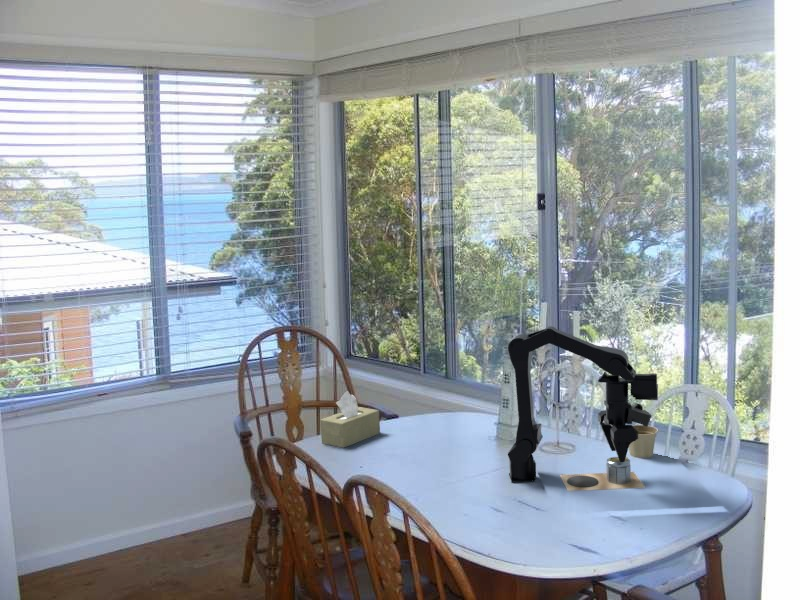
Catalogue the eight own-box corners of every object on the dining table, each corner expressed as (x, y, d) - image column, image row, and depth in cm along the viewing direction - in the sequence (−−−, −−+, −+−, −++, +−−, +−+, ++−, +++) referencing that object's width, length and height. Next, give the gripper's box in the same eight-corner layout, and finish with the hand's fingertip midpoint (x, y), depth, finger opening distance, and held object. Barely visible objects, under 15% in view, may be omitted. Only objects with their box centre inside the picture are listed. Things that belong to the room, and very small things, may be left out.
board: (568, 495, 215) (567, 476, 214) (559, 479, 227) (559, 460, 226) (645, 491, 215) (645, 472, 214) (633, 475, 227) (633, 457, 226)
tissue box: (359, 429, 285) (356, 383, 283) (381, 433, 279) (378, 387, 277) (320, 443, 270) (317, 396, 268) (342, 448, 264) (339, 400, 262)
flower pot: (660, 464, 235) (659, 434, 234) (625, 463, 237) (625, 434, 236) (656, 453, 244) (656, 424, 243) (623, 453, 246) (623, 424, 245)
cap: (610, 484, 218) (609, 462, 217) (604, 476, 224) (604, 454, 223) (633, 483, 218) (632, 461, 217) (627, 475, 223) (626, 453, 223)
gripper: (658, 406, 208) (659, 466, 210) (638, 388, 227) (638, 444, 229) (613, 408, 208) (614, 468, 211) (597, 390, 227) (598, 445, 229)
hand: (617, 456), depth 220 cm, fingers open, 9 cm apart
